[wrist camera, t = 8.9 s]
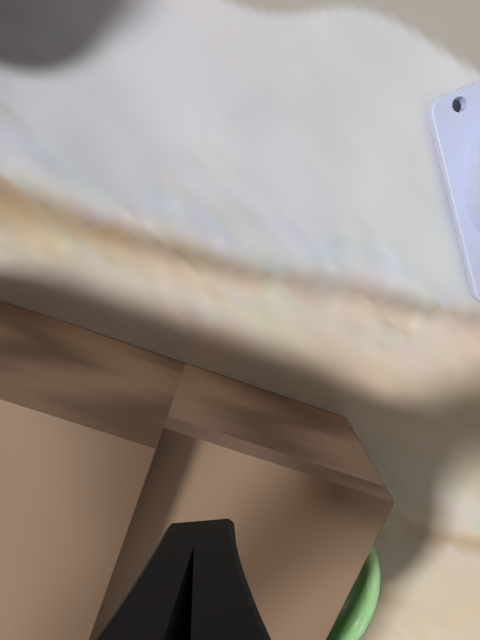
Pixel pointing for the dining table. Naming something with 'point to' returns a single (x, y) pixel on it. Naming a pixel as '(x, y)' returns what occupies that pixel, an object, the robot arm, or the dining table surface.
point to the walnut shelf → (165, 482)
